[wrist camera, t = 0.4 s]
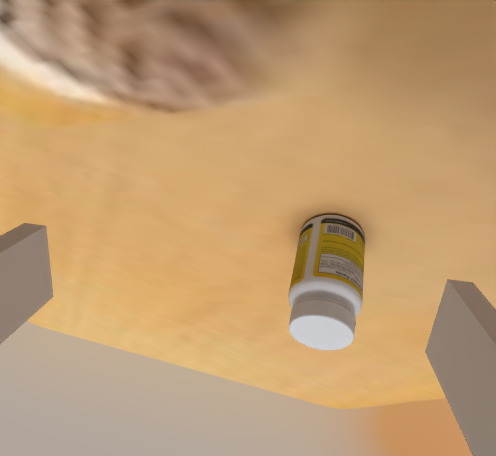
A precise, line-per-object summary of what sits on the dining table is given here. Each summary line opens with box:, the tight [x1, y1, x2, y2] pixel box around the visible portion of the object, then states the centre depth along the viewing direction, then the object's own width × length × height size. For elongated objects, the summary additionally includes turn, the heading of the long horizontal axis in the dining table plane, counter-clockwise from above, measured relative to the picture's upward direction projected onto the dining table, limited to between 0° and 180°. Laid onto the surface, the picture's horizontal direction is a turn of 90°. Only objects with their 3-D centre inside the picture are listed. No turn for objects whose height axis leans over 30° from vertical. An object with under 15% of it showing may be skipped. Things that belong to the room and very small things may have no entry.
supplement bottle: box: [289, 215, 365, 350], centre depth 27 cm, size 5×5×8 cm
